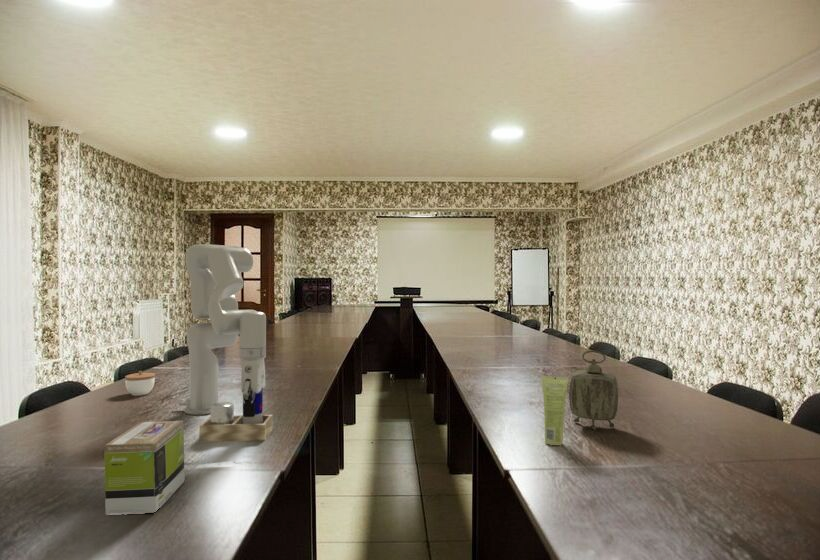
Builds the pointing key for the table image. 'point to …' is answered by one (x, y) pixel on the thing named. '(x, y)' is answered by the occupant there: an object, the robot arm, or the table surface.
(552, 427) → the tube
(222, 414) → the grey rounded cylinder
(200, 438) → the caddy
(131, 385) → the lidded jar
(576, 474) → the table surface
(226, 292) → the robot arm
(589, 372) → the tabletop clock
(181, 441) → the tea box
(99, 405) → the table surface
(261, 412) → the beverage can
